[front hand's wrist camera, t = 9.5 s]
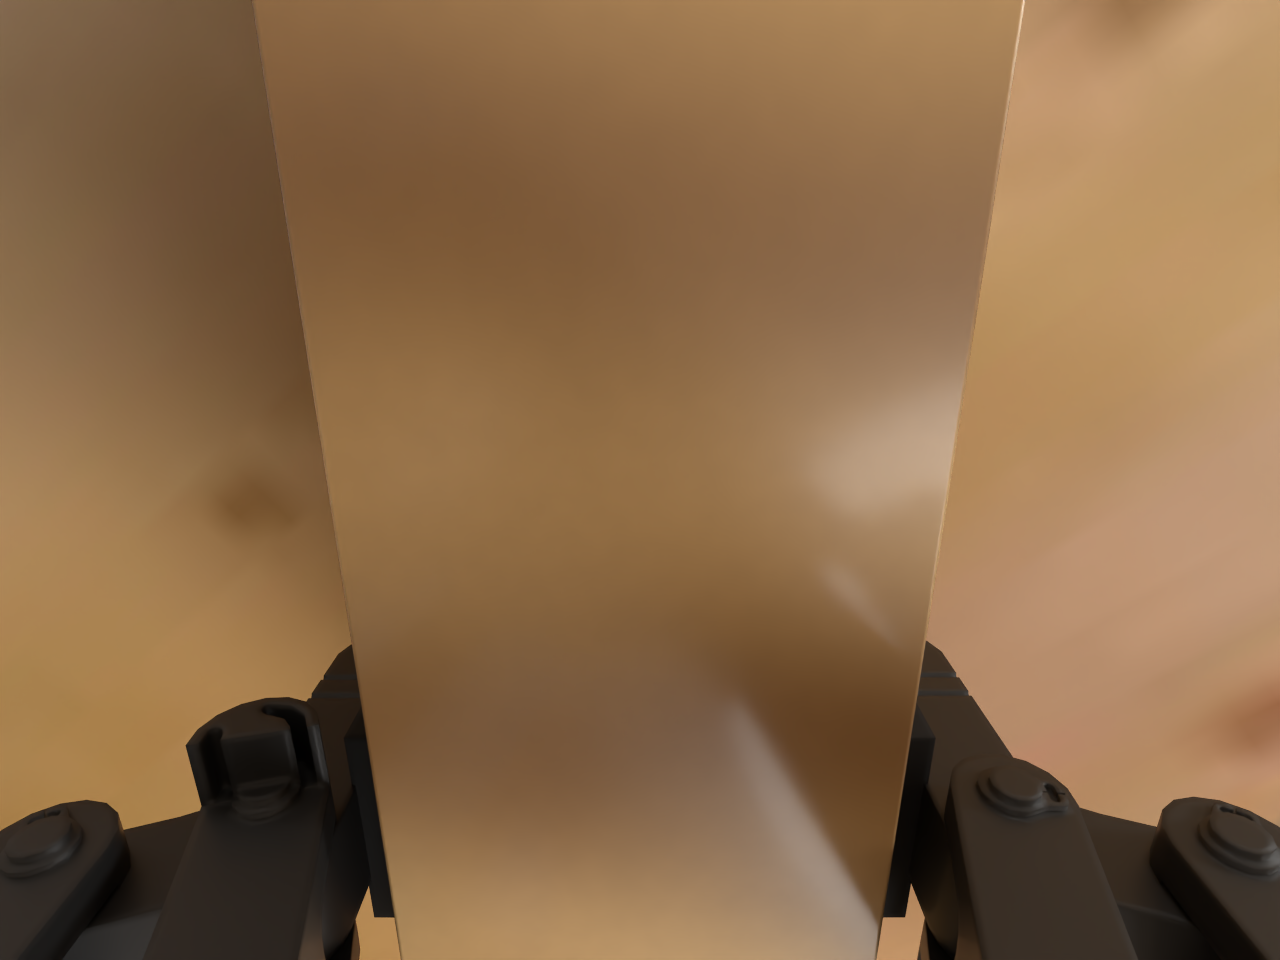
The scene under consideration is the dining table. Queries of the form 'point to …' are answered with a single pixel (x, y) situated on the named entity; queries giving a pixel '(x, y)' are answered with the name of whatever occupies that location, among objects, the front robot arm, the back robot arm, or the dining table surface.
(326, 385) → the beam
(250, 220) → the dining table surface
